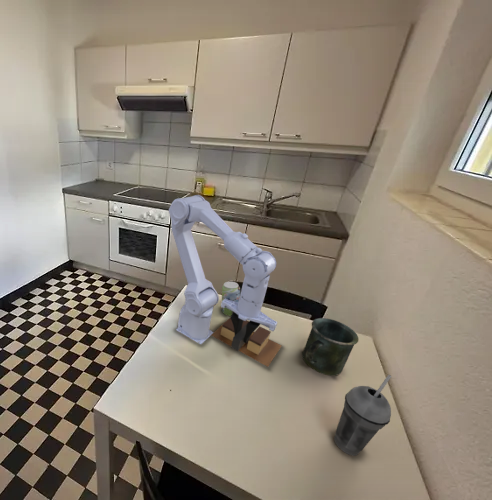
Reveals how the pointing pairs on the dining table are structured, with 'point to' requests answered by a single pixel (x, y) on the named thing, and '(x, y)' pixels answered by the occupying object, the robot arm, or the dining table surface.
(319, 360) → the mug
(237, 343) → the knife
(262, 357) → the cake board
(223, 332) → the cake
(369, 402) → the beverage cup
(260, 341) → the cake slice
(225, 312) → the beverage can
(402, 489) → the dining table surface
